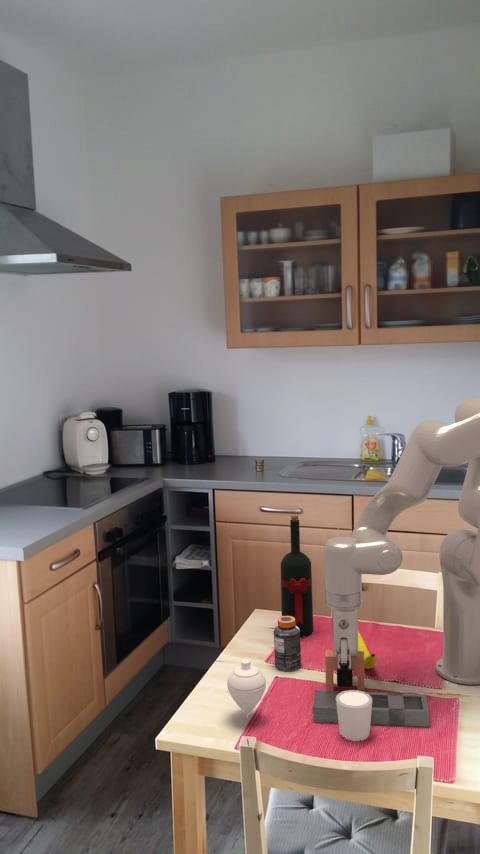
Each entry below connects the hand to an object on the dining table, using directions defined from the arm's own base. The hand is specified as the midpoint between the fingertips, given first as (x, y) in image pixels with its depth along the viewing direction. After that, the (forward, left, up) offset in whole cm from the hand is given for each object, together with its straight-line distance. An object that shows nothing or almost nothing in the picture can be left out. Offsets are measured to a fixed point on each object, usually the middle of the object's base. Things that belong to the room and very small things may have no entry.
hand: (345, 677), depth 159 cm
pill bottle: (+13, -10, -3) cm, 17 cm away
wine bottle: (+12, -28, -3) cm, 31 cm away
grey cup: (-2, +17, -3) cm, 17 cm away
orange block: (0, 0, -3) cm, 3 cm away
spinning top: (+19, +13, -3) cm, 23 cm away
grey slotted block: (-5, +10, -3) cm, 11 cm away
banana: (-4, -13, -3) cm, 14 cm away
